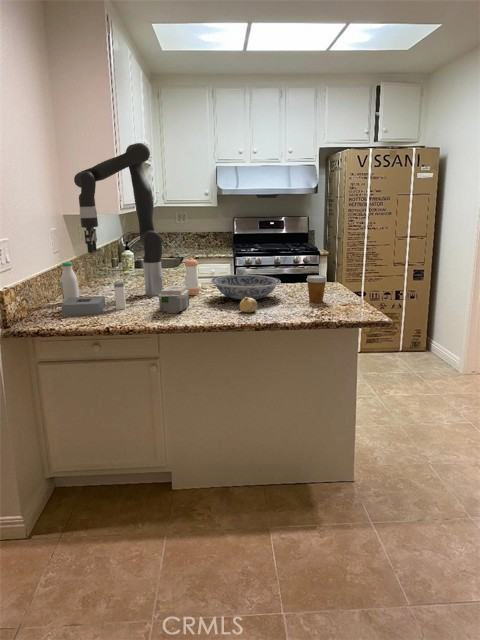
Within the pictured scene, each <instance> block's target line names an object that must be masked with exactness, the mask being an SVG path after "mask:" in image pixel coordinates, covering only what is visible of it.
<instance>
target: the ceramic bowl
mask: <svg viewBox="0 0 480 640" xmlns="http://www.w3.org/2000/svg"><path fill="white" fill-rule="evenodd" d="M210 282H211V283H212V284H214V285H215V286H216V288H217V289H218V291H219V292H220V294H222V295H224V296H225V297H227V298H229V299H234V300H241V301H242V300H243V299H244V298H245V297H248V298H253V299H255V300H259V299H263V298H266V297H267V296H269V295H270V294H271V293H272V292H274V289H276V287H277V286H279V285H280V284H281V283H282V281H281V280H280V279H279V278H277V277H272V276H266V275H257V274H231V275H230V274H227V275H220V276H216V277H213V278H212V279H211V280H210Z"/></svg>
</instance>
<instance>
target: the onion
mask: <svg viewBox="0 0 480 640" xmlns="http://www.w3.org/2000/svg"><path fill="white" fill-rule="evenodd" d="M256 300H257V299H253V298H248V297H245V298H244V299H243V300H241V301H240V303H239V309H240V311H241V312H242V313H255V312H256V311H257V309H258V305H259V304H258V302H257V301H256Z"/></svg>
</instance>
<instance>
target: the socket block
mask: <svg viewBox="0 0 480 640" xmlns="http://www.w3.org/2000/svg"><path fill="white" fill-rule="evenodd" d="M105 308H106V296H105V295H100V296H98V295H97V296H79V297H72V298H68V299H67V300H66V301H65V302H64V303H62V304H61V313H62V317H72V316H73V317H74V316H75V317H76V316H77V317H78V316H95V315H101V314H102V313H103V311H104V310H105Z"/></svg>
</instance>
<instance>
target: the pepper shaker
mask: <svg viewBox="0 0 480 640" xmlns="http://www.w3.org/2000/svg"><path fill="white" fill-rule="evenodd" d="M183 264H184V266H185V272H186V273H185V274H186V276H185V286H187V288H188V289H187V290H189V291H190V294H189V295H196V296H199V295H200V287H199V278H198V269H197V268H198V267H197V266H198V265H199V262H198V260H197V259H193V258H192V257H190V258H189V259H186V260H185V261H184V262H183ZM198 294H199V295H198Z"/></svg>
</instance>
